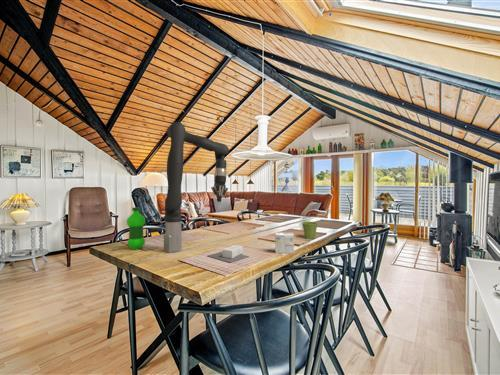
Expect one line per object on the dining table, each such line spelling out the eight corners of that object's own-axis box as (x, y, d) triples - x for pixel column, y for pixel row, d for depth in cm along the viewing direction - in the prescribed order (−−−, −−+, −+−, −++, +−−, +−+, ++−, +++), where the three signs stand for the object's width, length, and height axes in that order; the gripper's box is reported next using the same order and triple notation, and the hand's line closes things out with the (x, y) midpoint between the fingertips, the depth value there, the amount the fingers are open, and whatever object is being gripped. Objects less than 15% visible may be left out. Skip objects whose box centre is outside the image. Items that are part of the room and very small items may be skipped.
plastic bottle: (146, 248, 154) (146, 207, 154) (127, 251, 148) (127, 208, 148) (144, 245, 162) (143, 206, 162) (125, 247, 157) (125, 207, 156)
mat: (230, 263, 125) (230, 262, 125) (207, 256, 137) (207, 255, 137) (249, 256, 136) (249, 256, 136) (225, 251, 148) (225, 250, 148)
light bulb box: (293, 250, 149) (293, 232, 149) (294, 253, 142) (294, 234, 142) (275, 250, 150) (275, 232, 150) (275, 253, 143) (275, 234, 143)
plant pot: (299, 236, 189) (299, 221, 189) (314, 236, 190) (314, 221, 190) (304, 240, 177) (304, 224, 177) (320, 239, 178) (320, 223, 178)
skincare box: (233, 252, 145) (222, 257, 134) (233, 244, 144) (222, 249, 134) (242, 253, 142) (232, 258, 131) (242, 245, 142) (232, 250, 131)
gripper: (216, 174, 158) (214, 201, 158) (231, 176, 168) (230, 202, 167) (208, 174, 163) (207, 201, 163) (224, 176, 173) (223, 201, 172)
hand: (219, 201), depth 165 cm, fingers closed
